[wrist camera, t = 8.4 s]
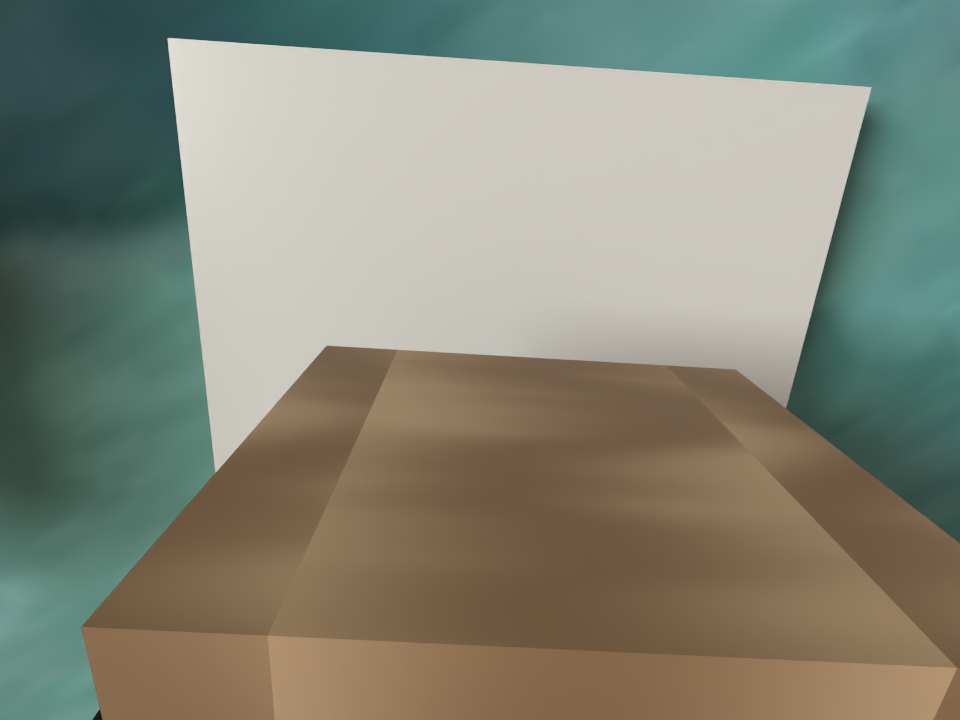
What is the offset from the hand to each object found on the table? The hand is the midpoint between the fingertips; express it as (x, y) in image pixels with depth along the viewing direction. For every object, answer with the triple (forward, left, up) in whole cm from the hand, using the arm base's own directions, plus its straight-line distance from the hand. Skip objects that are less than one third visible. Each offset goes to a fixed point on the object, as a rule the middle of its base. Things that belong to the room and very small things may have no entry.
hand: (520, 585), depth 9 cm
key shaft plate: (0, 0, -8) cm, 8 cm away
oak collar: (0, 0, -1) cm, 1 cm away
